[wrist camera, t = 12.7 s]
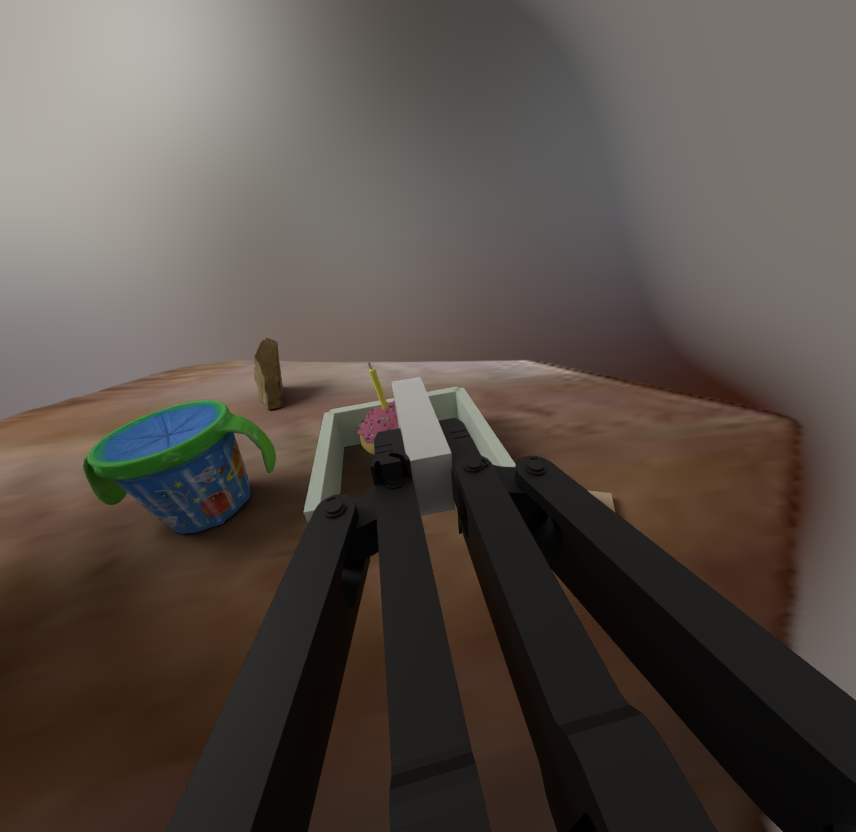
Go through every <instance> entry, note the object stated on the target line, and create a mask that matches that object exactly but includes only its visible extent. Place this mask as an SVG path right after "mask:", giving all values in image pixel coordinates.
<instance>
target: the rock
mask: <svg viewBox="0 0 856 832" xmlns="http://www.w3.org/2000/svg"><path fill="white" fill-rule="evenodd" d="M254 358H255V359H254V363H255V368H254V370H255V373H254V376H255V381H256V383H257V385H258V395H259V396H258V397H259V398H260V400H261V401H262V402H264V404H265V405H267V407H266V408H267V409H268V410H270V409H275V408H280V407H282V406H283V402H282V393H283V392H282V389H283V385H282V378H281V371H280V363H279V356H278V343H277V342H276V341H274V340H271V339H267V338H266V339H265V340H263V341H262V342H261V343H260V345H259V347H258V349H257V352H256V354H255V356H254Z"/></svg>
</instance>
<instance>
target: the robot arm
mask: <svg viewBox="0 0 856 832" xmlns="http://www.w3.org/2000/svg"><path fill="white" fill-rule="evenodd" d="M392 388H393V394H394V400H395V406H396V412H397V418H398V425H399V428H398V429H392V430H386V431H380V432H378V433H377V435H376V436H375V438H374V451H375V458H374V460H373V461H372V462H371V466H370V468H371V472H372V476H373V480H374V485H373V487H372V488H371V489H370V490H369V491H367V492H366V493H364V494H362V495H361V496H358V497H356V498H354V499H353V498H352V497H351V496H349V495H346V494H336V495H332V496H330V497H327V498H325V499H324V500H323V501H321V502H320V503H319V504H318V506H317V507H316V508H315V510H314V512H313V514H312V517H311V519H310V521H309V523H308V525H307V527H306V530H305V532H304V534H303V536H302V538H301V540H300V542H299V545H298V547H297V549H296V551H295V553H294V555H293V558H292V560H291V562H290V564H289V566H288V568H287V571H286V573H285V575H284V577H283V579H282V581H281V584H280V586H279V588H278V590H277V592H276V594H275V597H274V599H273V601H272V603H271V605H270V607H269V610H268V612H267V614H266V616H265V618H264V620H263V623H262V625H261V627H260V629H259V631H258V633H257V636H256V638H255V640H254V642H253V644H252V646H251V649H250V651H249V653H248V655H247V657H246V659H245V662H244V664H243V666H242V668H241V670H240V672H239V674H238V677H237V679H236V681H235V683H234V685H233V687H232V690H231V692H230V694H229V696H228V698H227V700H226V703H225V705H224V707H223V709H222V711H221V713H220V716H219V718H218V720H217V722H216V724H215V726H214V729H213V731H212V733H211V735H210V737H209V739H208V742H207V744H206V746H205V748H204V750H203V752H202V755H201V757H200V759H199V761H198V763H197V765H196V768H195V770H194V772H193V774H192V776H191V778H190V781H189V783H188V785H187V787H186V789H185V791H184V794H183V796H182V798H181V800H180V802H179V804H178V806H177V809H176V811H175V813H174V815H173V817H172V819H171V822H170V824H169V826H168V828H167V830H166V832H308V827H309V823H310V819H311V814H312V810H313V806H314V801H315V797H316V792H317V788H318V784H319V779H320V775H321V771H322V766H323V762H324V758H325V753H326V749H327V745H328V740H329V736H330V732H331V727H332V723H333V719H334V714H335V710H336V706H337V701H338V697H339V693H340V688H341V684H342V679H343V675H344V671H345V666H346V662H347V658H348V653H349V649H350V645H351V640H352V636H353V632H354V627H355V623H356V619H357V614H358V610H359V606H360V601H361V597H362V593H363V588H364V584H365V580H366V575H367V571H368V566H369V562H370V556H372V555H374V554H376V553H377V552H379V564H380V581H381V597H382V614H383V630H384V647H385V663H386V680H387V696H388V713H389V729H390V746H391V765H392V776H391V784H390V832H491V829H490V825H489V820H488V816H487V811H486V807H485V802H484V798H483V793H482V789H481V784H480V780H479V776H478V772H477V768H476V764H475V760H474V757H473V753H472V750H471V745H470V741H469V737H468V732H467V728H466V723H465V718H464V714H463V709H462V704H461V700H460V695H459V690H458V686H457V681H456V677H455V672H454V667H453V663H452V658H451V653H450V649H449V644H448V640H447V635H446V630H445V626H444V621H443V616H442V612H441V607H440V602H439V598H438V593H437V589H436V584H435V579H434V575H433V570H432V565H431V561H430V556H429V552H428V547H427V542H426V538H425V533H424V528H423V524H422V519H421V516H424V515H429V514H434V513H439V512H444V511H448V510H453V509H455V504H456V507H457V510H458V526H459V534H462V533H463V536H464V539H465V542H466V545H467V548H468V551H469V554H470V557H471V560H472V563H473V566H474V569H475V572H476V575H477V578H478V581H479V584H480V587H481V590H482V593H483V596H484V599H485V602H486V605H487V607H488V610H489V613H490V616H491V619H492V622H493V625H494V628H495V631H496V634H497V637H498V640H499V643H500V646H501V649H502V652H503V655H504V658H505V661H506V664H507V667H508V670H509V673H510V676H511V679H512V682H513V685H514V688H515V691H516V694H517V697H518V700H519V703H520V706H521V709H522V712H523V715H524V718H525V721H526V724H527V727H528V730H529V733H530V736H531V739H532V742H533V745H534V748H535V751H536V754H537V757H538V760H539V764H540V768H541V772H542V777H543V783H544V788H545V792H546V796H547V800H548V804H549V807H550V810H551V813H552V817H553V820H554V823H555V826H556V829H557V832H717V830H716V828H715V827H714V825H713V823H712V822H711V820H710V818H709V817H708V815H707V813H706V811H705V810H704V808H703V806H702V805H701V803H700V801H699V800H698V798H697V796H696V795H695V793H694V791H693V789H692V788H691V786H690V784H689V783H688V781H687V779H686V778H685V776H684V774H683V773H682V771H681V769H680V768H679V766H678V764H677V762H676V761H675V759H674V757H673V756H672V754H671V752H670V751H669V749H668V747H667V746H666V744H665V742H664V741H663V739H662V738H661V736H660V735H659V733H658V732H657V730H656V729H655V727H654V726H653V725H652V723H651V722H650V721H649V720H648V719H647V718H646V717H645V716H644V714H643V713H641V712H640V711H638V710H637V709H635V708H634V707H632V706H631V705H629V703H628V702H627V701H626V700H625V699H624V697H623V696H622V694H621V693H620V691H619V690H618V688H617V686H616V684H615V682H614V681H613V679H612V677H611V675H610V674H609V672H608V670H607V668H606V666H605V665H604V663H603V661H602V659H601V657H600V656H599V654H598V652H597V650H596V649H595V647H594V645H593V643H592V641H591V640H590V638H589V636H588V634H587V632H586V631H585V629H584V627H583V625H582V624H581V622H580V620H579V618H578V616H577V615H576V613H575V611H574V609H573V607H572V606H571V604H570V602H569V600H568V599H567V597H566V595H565V593H564V591H563V590H562V588H561V586H560V584H559V582H558V581H557V579H556V577H555V575H554V574H553V572H554V573H555V574H556V575H557V576H558V577H559V578H560V580H561V581H562V582H563V583H564V584H565V585H566V587H567V588H568V589H569V590H570V591H571V592H572V593H573V595H574V596H575V597H576V598H577V599H578V600H579V602H580V603H581V604H582V605H583V606H584V607H585V609H586V610H587V611H588V612H589V613H590V614H591V615H592V617H593V618H594V619H595V620H596V621H597V622H598V624H599V625H600V626H601V627H602V628H603V629H604V631H605V632H606V633H607V634H608V635H609V636H610V637H611V639H612V640H613V641H614V642H615V643H616V644H617V646H618V647H619V648H620V649H621V650H622V651H623V652H624V654H625V655H626V656H627V657H628V658H629V659H630V661H631V662H632V663H633V664H634V665H635V666H636V668H637V669H638V670H639V671H640V672H641V673H642V674H643V676H644V677H645V678H646V679H647V680H648V681H649V683H650V684H651V685H652V686H653V687H654V688H655V689H656V691H657V692H658V693H659V694H660V695H661V696H662V698H663V699H664V700H665V701H666V702H667V703H668V705H669V706H670V707H671V708H672V709H673V710H674V711H675V713H676V714H677V715H678V716H679V717H680V718H681V720H682V721H683V722H684V723H685V724H686V725H687V726H688V728H689V729H690V730H691V731H692V732H693V733H694V735H695V736H696V737H697V738H698V739H699V740H700V742H701V743H702V744H703V745H704V746H705V747H706V748H707V750H708V751H709V752H710V753H711V754H712V755H713V757H714V758H715V759H716V760H717V761H718V762H719V764H720V765H721V766H722V767H723V768H724V769H725V770H726V772H727V773H728V774H729V775H730V776H731V777H732V778H733V780H734V781H735V782H736V783H737V784H738V785H739V786H740V787H741V788H742V789H743V791H744V792H745V793H746V794H747V795H748V796H749V797H750V798H751V799H752V800H753V801H754V803H755V804H756V805H757V806H758V807H759V808H760V809H761V810H762V811H763V812H764V813H765V814H766V815H767V816H768V817H769V818H770V819H771V820H772V821H773V822H774V823H775V824H776V825H777V826H778V827H779V828H780V829H781V830H782V831H783V832H856V700H854V699H853V698H852V697H851V696H849V695H848V694H847V693H846V692H844V691H843V690H842V689H840V688H839V687H838V686H837V685H835V684H834V683H833V682H832V681H830V680H829V679H828V678H826V677H825V676H824V675H823V674H821V673H820V672H819V671H817V670H816V669H815V668H813V667H812V666H811V665H810V664H808V663H807V662H806V661H805V660H803V659H802V658H801V657H800V656H798V655H797V654H796V653H794V652H793V651H792V650H791V649H789V648H788V647H787V646H785V645H784V644H783V643H782V642H780V641H779V640H778V639H777V638H775V637H774V636H773V635H771V634H770V633H769V632H768V631H766V630H765V629H764V628H762V627H761V626H760V625H759V624H757V623H756V622H755V621H753V620H752V619H751V618H750V617H748V616H747V615H746V614H745V613H743V612H742V611H741V610H739V609H738V608H737V607H736V606H734V605H733V604H732V603H730V602H729V601H728V600H727V599H725V598H724V597H723V596H722V595H720V594H719V593H718V592H716V591H715V590H714V589H713V588H711V587H710V586H709V585H707V584H706V583H705V582H704V581H702V580H701V579H700V578H698V577H697V576H696V575H695V574H693V573H692V572H691V571H690V570H688V569H687V568H686V567H684V566H683V565H682V564H681V563H679V562H678V561H677V560H675V559H674V558H673V557H672V556H670V555H669V554H668V553H667V552H665V551H664V550H663V549H661V548H660V547H659V546H658V545H656V544H655V543H654V542H652V541H651V540H650V539H649V538H647V537H646V536H645V535H643V534H642V533H641V532H640V531H638V530H637V529H636V528H635V527H633V526H632V525H631V524H629V523H628V522H627V521H626V520H624V519H623V518H622V517H620V516H619V515H618V514H617V513H615V512H614V511H613V510H612V509H610V508H609V507H608V506H606V505H605V504H604V503H603V502H601V501H600V500H599V499H597V498H596V497H595V496H594V495H592V494H591V493H590V492H588V491H587V490H586V489H585V488H583V487H582V486H581V485H580V484H578V483H577V482H576V481H574V480H573V479H572V478H571V477H569V476H568V475H567V474H565V473H564V472H563V471H562V470H560V469H559V468H558V467H557V466H555V465H554V464H553V463H551V462H550V461H548V460H546V459H545V458H541V457H538V456H528V457H523V458H521V459H520V460H518V461H517V463H516V465H515V467H503V466H497V465H493V464H492V463H491V462H490V461H489V459H488V458H486V457H484V456H481V454H480V452H479V450H478V449H477V447H476V445H475V443H474V441H473V439H472V437H471V436H470V434H469V432H468V431H467V428H466V426H465V424H464V423H463V422H462V421H460V420H459V419H457V418H450V419H445V420H439V421H438V419H437V417H436V414H435V412H434V409H433V407H432V404H431V402H430V399H429V397H428V395H427V392H426V390H425V387H424V385H423V382H422V380H421V378H420V377H418V378H411V379H405V380H399V381H392ZM454 501H455V502H454ZM551 569H552V570H553V572H552V570H551Z"/></svg>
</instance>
